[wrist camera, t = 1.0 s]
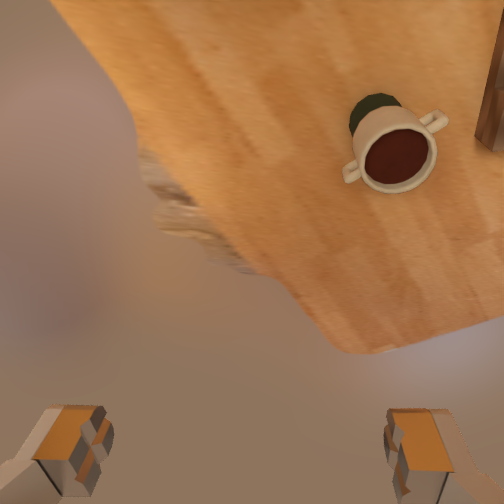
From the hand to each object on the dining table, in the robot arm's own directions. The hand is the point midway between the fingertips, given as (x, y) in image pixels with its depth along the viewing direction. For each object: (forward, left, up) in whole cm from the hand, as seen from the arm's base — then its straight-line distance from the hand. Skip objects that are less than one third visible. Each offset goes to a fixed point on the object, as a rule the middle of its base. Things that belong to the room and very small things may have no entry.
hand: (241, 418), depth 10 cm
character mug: (+5, +11, -41) cm, 43 cm away
